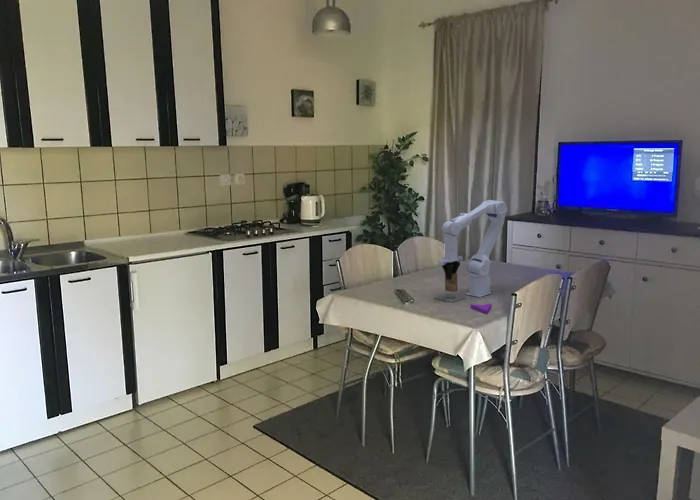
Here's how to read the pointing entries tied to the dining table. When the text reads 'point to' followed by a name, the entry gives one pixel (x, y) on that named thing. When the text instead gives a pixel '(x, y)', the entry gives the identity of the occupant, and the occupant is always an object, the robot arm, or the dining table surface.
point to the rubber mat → (449, 297)
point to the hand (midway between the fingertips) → (450, 278)
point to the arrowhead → (482, 308)
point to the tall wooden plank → (451, 283)
